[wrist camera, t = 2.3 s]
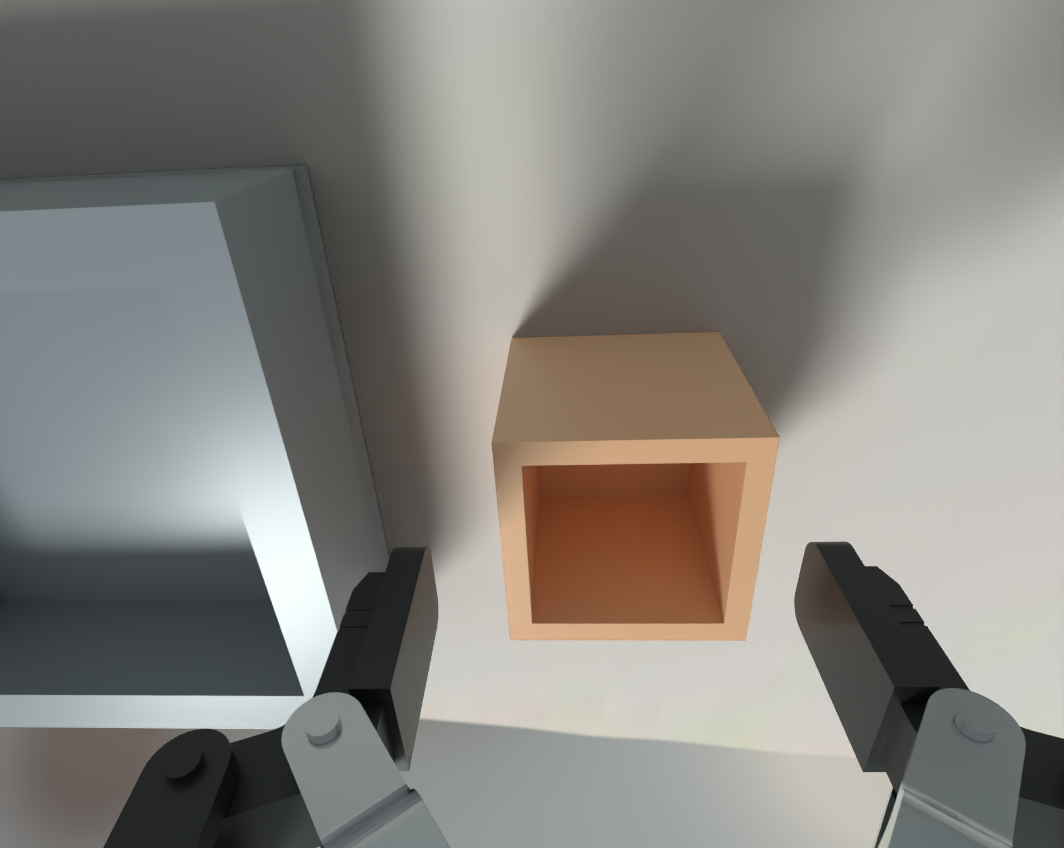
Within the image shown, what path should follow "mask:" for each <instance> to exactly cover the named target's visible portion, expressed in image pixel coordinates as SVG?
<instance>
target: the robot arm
mask: <svg viewBox="0 0 1064 848" xmlns="http://www.w3.org/2000/svg"><path fill="white" fill-rule="evenodd" d="M794 605H795V614H796V619H797V622H798V625H799V628H800V630H801V632H802V635H803V637H804V639H805V641H806V644H807V646H808V648H809V650H810V653H811V655H812V657H813V659H814V662H815V664H816V666H817V669H818V671H819V673H820V675H821V678H822V680H823V682H824V684H825V687H826V689H827V691H828V694H829V696H830V698H831V700H832V703H833V705H834V707H835V709H836V712H837V714H838V716H839V718H840V721H841V723H842V725H843V728H844V730H845V732H846V734H847V737H848V739H849V741H850V743H851V746H852V748H853V750H854V752H855V755H856V757H857V759H858V761H859V764H860V766H861V768H862V770H863V772H886V773H887V775H888V777H889V779H890V781H891V784H892V789H891V791H890V794H889V796H888V800H887V803H886V806H885V809H884V812H883V816H882V819H881V822H880V825H879V829H878V832H877V835H876V838H875V841H874V845H873V848H1064V739H1062V738H1059V737H1055V736H1051V735H1047V734H1043V733H1039V732H1035V731H1032V730H1029V729H1025V728H1022V727H1020V726H1019V725H1018V723H1017V722H1016V721H1015V720H1014V718H1013V717H1012V716H1011V715H1010V714H1009V713H1008V712H1007V711H1006V710H1005V709H1003V708H1002V707H1001V706H999V705H998V704H997V703H995V702H993V701H992V700H990V699H988V698H986V697H984V696H982V695H980V694H978V693H975V692H972V691H970V690H969V688H968V687H967V686H966V684H965V683H964V681H963V680H962V678H961V677H960V675H959V674H958V672H957V671H956V669H955V668H954V666H953V665H952V663H951V662H950V660H949V659H948V657H947V656H946V654H945V653H944V651H943V650H942V648H941V647H940V645H939V644H938V642H937V641H936V639H935V638H934V636H933V635H932V633H931V632H930V630H929V629H928V627H927V626H924V621H923V620H922V618H921V617H920V615H919V614H918V612H917V611H916V609H913V605H912V603H911V602H910V600H909V599H908V597H907V596H906V594H905V593H904V591H903V590H902V588H901V587H900V585H899V584H898V583H897V582H896V581H894V580H893V579H892V578H891V577H889V576H888V575H887V574H886V573H884V572H883V571H882V570H881V569H879V568H878V567H877V566H864V564H863V563H862V561H861V560H860V558H859V556H858V555H857V553H856V552H855V550H854V548H853V547H852V545H851V544H850V543H848V542H810V543H808V545H807V546H806V549H805V553H804V557H803V561H802V566H801V570H800V575H799V579H798V583H797V588H796V592H795V599H794ZM437 623H438V597H437V591H436V584H435V578H434V571H433V565H432V558H431V552H430V549H429V548H428V547H398V548H394V549H393V550H392V552H391V555H390V558H389V562H388V565H387V568H386V571H385V572H368V574H367V575H366V576H365V577H364V578H363V579H362V580H361V581H360V582H359V584H358V585H357V586H356V587H355V588H354V589H353V590H352V593H351V596H350V599H349V601H348V604H347V607H346V609H345V614H344V615H343V618H342V620H341V623H340V626H339V631H337V634H336V637H335V639H334V642H333V645H332V648H331V650H330V653H329V656H328V658H327V661H326V664H325V667H324V669H323V672H322V675H321V677H320V680H319V683H318V686H317V688H316V691H315V693H314V695H313V697H312V699H310V700H308V701H306V702H305V703H303V704H302V705H301V706H300V707H298V708H297V709H296V710H295V711H294V712H293V713H292V715H291V716H290V717H289V719H288V720H287V722H286V724H285V725H283V726H281V727H279V728H277V729H275V730H272V731H269V732H266V733H263V734H260V735H256V736H253V737H250V738H246V739H243V740H240V741H236V742H233V743H229V741H228V739H227V738H226V736H225V735H223V734H222V733H221V732H219V731H216V730H212V729H197V730H193V731H189V732H186V733H184V734H181V735H179V736H177V737H176V738H174V739H172V740H171V741H169V742H168V743H166V744H165V745H164V746H162V747H161V748H160V749H159V750H158V751H157V752H156V753H155V754H154V755H153V756H152V757H151V759H150V760H149V761H148V762H147V764H146V766H145V767H144V769H143V771H142V773H141V775H140V777H139V779H138V781H137V783H136V785H135V787H134V788H133V790H132V793H131V794H130V796H129V798H128V800H127V802H126V804H125V806H124V808H123V810H122V812H121V814H120V816H119V818H118V820H117V822H116V824H115V826H114V828H113V830H112V832H111V834H110V836H109V838H108V840H107V842H106V844H105V846H104V848H316V847H319V846H320V847H321V848H450V846H449V844H448V842H447V841H446V839H445V837H444V835H443V834H442V832H441V830H440V829H439V827H438V825H437V823H436V822H435V820H434V818H433V816H432V815H431V813H430V811H429V809H428V808H427V806H426V804H425V803H424V801H423V799H422V798H421V796H420V795H419V794H418V792H417V791H416V790H415V789H411V790H410V789H409V787H408V786H407V784H406V783H405V781H404V780H403V778H402V776H401V774H400V772H399V771H409V768H410V763H411V758H412V753H413V748H414V743H415V737H416V732H417V727H418V722H419V717H420V712H421V707H422V702H423V697H424V691H425V686H426V681H427V676H428V671H429V666H430V661H431V656H432V650H433V645H434V640H435V635H436V630H437Z"/></svg>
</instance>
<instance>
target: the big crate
mask: <svg viewBox="0 0 1064 848" xmlns="http://www.w3.org/2000/svg"><path fill="white" fill-rule="evenodd" d="M388 562H389V553H388V548H387V544H386V539H385V534H384V529H383V525H382V520H381V515H380V510H379V506H378V501H377V496H376V492H375V487H374V482H373V477H372V473H371V468H370V463H369V458H368V454H367V449H366V444H365V439H364V435H363V430H362V425H361V421H360V416H359V411H358V406H357V402H356V397H355V392H354V387H353V383H352V378H351V373H350V368H349V364H348V359H347V354H346V350H345V345H344V340H343V335H342V331H341V326H340V321H339V316H338V312H337V307H336V302H335V297H334V293H333V288H332V283H331V279H330V274H329V269H328V264H327V260H326V255H325V250H324V245H323V241H322V236H321V231H320V226H319V222H318V217H317V212H316V208H315V203H314V198H313V193H312V189H311V184H310V179H309V174H308V170H307V165H306V164H300V165H280V166H260V167H239V168H219V169H198V170H178V171H158V172H137V173H117V174H97V175H76V176H56V177H35V178H15V179H0V727H87V728H91V727H92V728H94V727H95V728H96V727H97V728H102V727H103V728H213V729H214V728H215V729H277V728H279V727H281V726H283V725H285V724H286V722H287V720H288V719H289V717H290V716H291V715H292V713H293V712H294V711H295V710H296V709H297V708H298V707H300V706H301V705H302V704H303V703H305V702H306V701H308V700H310V699H312V697H313V695H314V693H315V691H316V688H317V686H318V683H319V680H320V677H321V675H322V672H323V669H324V667H325V664H326V661H327V658H328V656H329V653H330V650H331V648H332V645H333V642H334V639H335V637H336V634H337V631H339V626H340V623H341V620H342V618H343V615H344V614H345V609H346V607H347V604H348V601H349V599H350V596H351V593H352V590H353V589H354V588H355V587H356V586H357V585H358V584H359V582H360V581H361V580H362V579H363V578H364V577H365V576H366V575H367V574H368V572H385V571H386V568H387V565H388Z"/></svg>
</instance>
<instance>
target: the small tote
mask: <svg viewBox="0 0 1064 848" xmlns="http://www.w3.org/2000/svg"><path fill="white" fill-rule="evenodd" d="M779 439H780V437H779V435H778V433H777V432H776V430H775V428H774V426H773V425H772V423H771V421H770V419H769V418H768V416H767V414H766V412H765V411H764V409H763V407H762V405H761V404H760V402H759V400H758V398H757V397H756V395H755V393H754V391H753V390H752V388H751V386H750V384H749V383H748V381H747V379H746V377H745V376H744V374H743V372H742V370H741V369H740V367H739V365H738V363H737V362H736V360H735V358H734V356H733V355H732V353H731V351H730V349H729V347H728V346H727V344H726V342H725V340H724V339H723V337H722V335H721V333H720V332H693V333H659V334H624V335H590V336H556V337H521V338H512V339H511V344H510V350H509V355H508V360H507V365H506V371H505V376H504V381H503V386H502V391H501V397H500V402H499V407H498V412H497V418H496V423H495V428H494V433H493V438H492V451H493V462H494V473H495V483H496V494H497V505H498V516H499V526H500V537H501V548H502V558H503V569H504V580H505V591H506V601H507V612H508V623H509V634H510V640H739V641H746V636H747V630H748V624H749V618H750V612H751V606H752V600H753V594H754V588H755V582H756V576H757V570H758V564H759V559H760V553H761V547H762V541H763V535H764V529H765V523H766V517H767V511H768V505H769V499H770V493H771V487H772V481H773V475H774V469H775V463H776V457H777V451H778V445H779Z"/></svg>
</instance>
